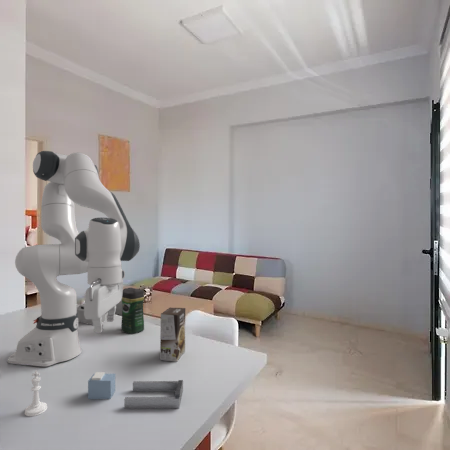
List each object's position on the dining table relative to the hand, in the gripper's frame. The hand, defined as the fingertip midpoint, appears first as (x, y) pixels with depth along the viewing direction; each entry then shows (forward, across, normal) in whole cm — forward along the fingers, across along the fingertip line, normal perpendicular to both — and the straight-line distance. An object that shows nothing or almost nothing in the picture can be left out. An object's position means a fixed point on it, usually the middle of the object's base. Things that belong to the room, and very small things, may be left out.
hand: (105, 326), depth 88 cm
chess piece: (+19, -7, +15) cm, 25 cm away
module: (+19, 0, +1) cm, 19 cm away
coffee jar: (+18, +50, +5) cm, 53 cm away
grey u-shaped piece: (+19, -2, -14) cm, 24 cm away
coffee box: (+19, +25, -15) cm, 35 cm away
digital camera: (+18, +64, +28) cm, 72 cm away
